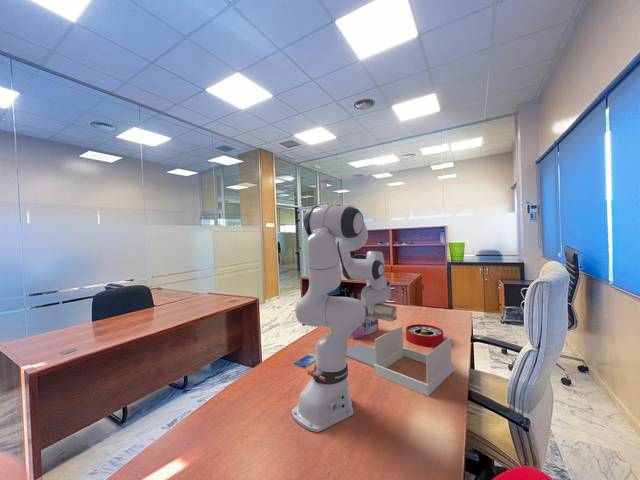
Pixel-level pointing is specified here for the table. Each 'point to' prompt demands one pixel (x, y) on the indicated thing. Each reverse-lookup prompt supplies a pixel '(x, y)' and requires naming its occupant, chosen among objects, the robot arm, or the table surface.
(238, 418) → the table surface
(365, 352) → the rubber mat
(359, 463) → the table surface
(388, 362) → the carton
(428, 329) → the toy clock
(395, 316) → the block
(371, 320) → the gum box
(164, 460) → the table surface
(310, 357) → the smartphone
